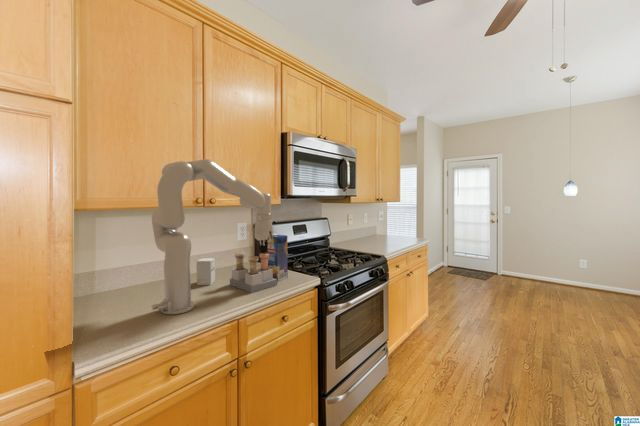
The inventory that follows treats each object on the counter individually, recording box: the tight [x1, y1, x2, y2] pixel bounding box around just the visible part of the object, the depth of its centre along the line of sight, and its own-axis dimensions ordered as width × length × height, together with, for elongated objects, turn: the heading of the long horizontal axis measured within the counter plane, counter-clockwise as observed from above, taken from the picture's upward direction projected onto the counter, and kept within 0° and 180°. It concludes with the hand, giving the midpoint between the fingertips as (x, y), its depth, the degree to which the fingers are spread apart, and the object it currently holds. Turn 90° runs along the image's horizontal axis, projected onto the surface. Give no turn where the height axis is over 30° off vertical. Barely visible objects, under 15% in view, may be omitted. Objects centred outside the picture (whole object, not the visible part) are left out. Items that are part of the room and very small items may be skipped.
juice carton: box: [268, 233, 289, 282], centre depth 161 cm, size 12×8×24 cm, turn 51°
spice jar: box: [248, 255, 260, 275], centre depth 141 cm, size 5×5×9 cm
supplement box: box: [196, 257, 216, 286], centre depth 151 cm, size 7×7×13 cm
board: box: [229, 267, 278, 294], centre depth 149 cm, size 16×19×8 cm
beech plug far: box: [234, 252, 246, 271], centre depth 149 cm, size 5×5×9 cm
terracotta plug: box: [258, 252, 269, 271], centre depth 149 cm, size 5×5×9 cm
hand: (264, 252), depth 148 cm, fingers closed
